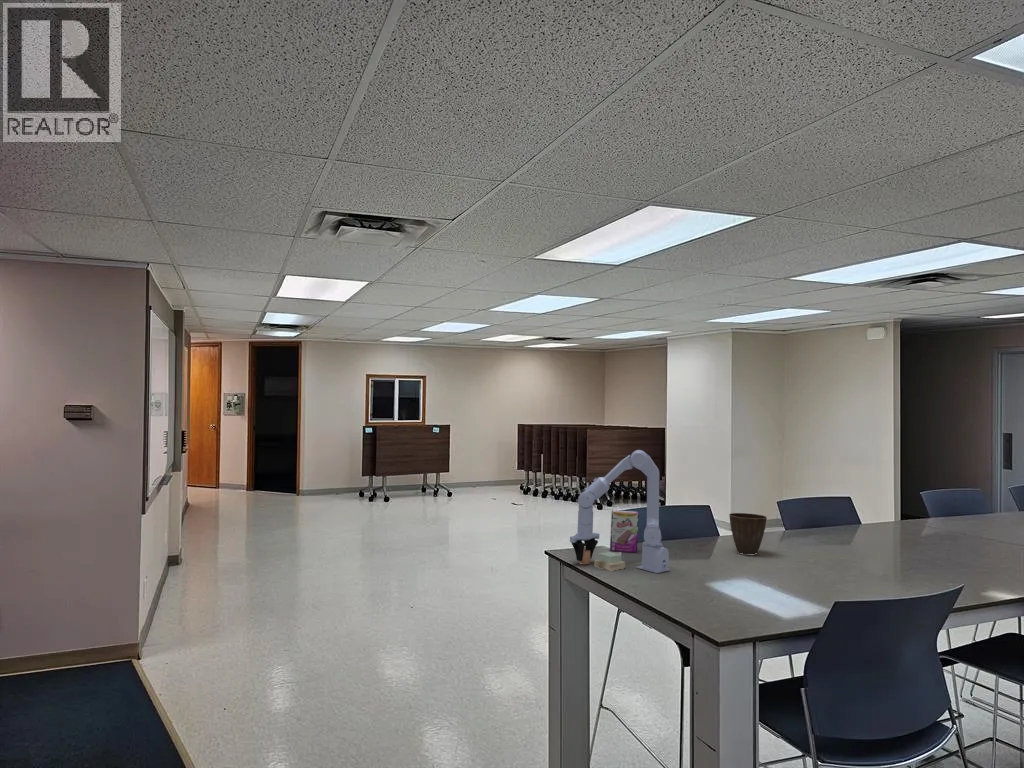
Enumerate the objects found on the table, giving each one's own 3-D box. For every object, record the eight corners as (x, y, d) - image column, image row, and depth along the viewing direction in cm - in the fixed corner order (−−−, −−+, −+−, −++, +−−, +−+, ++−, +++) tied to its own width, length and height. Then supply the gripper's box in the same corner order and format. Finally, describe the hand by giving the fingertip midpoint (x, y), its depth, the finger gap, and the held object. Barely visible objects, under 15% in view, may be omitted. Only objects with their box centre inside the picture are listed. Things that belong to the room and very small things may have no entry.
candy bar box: (610, 551, 279) (611, 511, 280) (609, 549, 284) (611, 509, 285) (637, 553, 278) (639, 513, 279) (636, 550, 283) (637, 511, 284)
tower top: (621, 561, 251) (621, 554, 251) (610, 563, 247) (611, 556, 247) (608, 558, 255) (608, 551, 255) (598, 560, 251) (598, 553, 251)
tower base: (625, 570, 250) (625, 561, 251) (611, 572, 245) (611, 564, 245) (608, 565, 256) (608, 557, 256) (594, 568, 251) (594, 560, 251)
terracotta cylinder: (592, 563, 256) (593, 550, 256) (584, 565, 253) (584, 552, 253) (583, 561, 259) (584, 548, 260) (575, 563, 256) (575, 549, 256)
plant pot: (721, 552, 286) (722, 514, 286) (739, 548, 296) (740, 511, 296) (754, 559, 275) (755, 519, 275) (772, 554, 285) (773, 516, 285)
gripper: (590, 520, 264) (589, 555, 264) (564, 523, 255) (563, 559, 254) (604, 523, 259) (602, 558, 259) (578, 526, 250) (576, 563, 249)
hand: (584, 559), depth 256 cm, fingers closed on terracotta cylinder, 5 cm apart
